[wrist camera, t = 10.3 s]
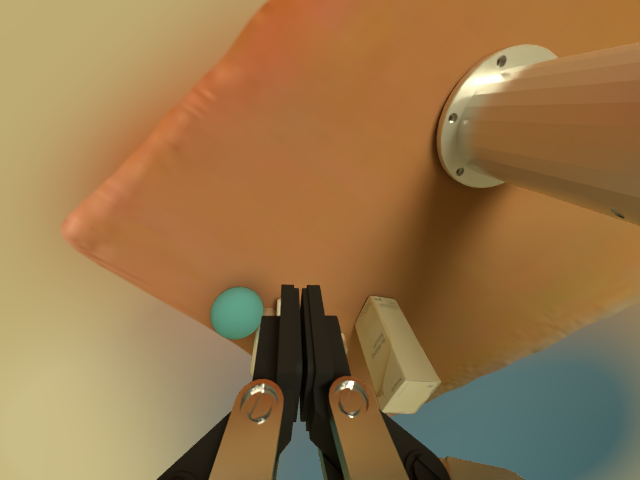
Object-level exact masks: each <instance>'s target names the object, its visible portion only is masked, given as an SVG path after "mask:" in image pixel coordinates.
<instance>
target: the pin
mask: <svg viewBox="0 0 640 480" xmlns="http://www.w3.org/2000/svg"><path fill="white" fill-rule="evenodd" d="M263 316H276V311H275V310H274V309H273V308H270V307H265V308H264V313H263ZM259 330H260V325H259V327H258V328H257V329H256V335H255V341H254V348H253V354H252V361H251V368H250V375H251V376H252V377H253V373H254V366H255V359H256V352H257V345H258V338H259Z"/></svg>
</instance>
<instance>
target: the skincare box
mask: <svg viewBox="0 0 640 480" xmlns="http://www.w3.org/2000/svg"><path fill="white" fill-rule="evenodd" d="M355 328H356V331H357V334H358V338H359V341H360V344H361V347H362V351H363V354H364V357H365V360H366V364H367V367H368V370H369V373H370V377H371V380H372V383H373V386H374V389H375V393H376V396H377V399H378V402H379V406H380V409H381V411H382V412H383V413H400V414H415V413H416V411H417V410H418V409H419V408H420V407H421V406H422V404H423V403H424V402H425V401H426V400H427V399H428V398H429V396H430V395H431V394H432V393H433V391H434V390H435V389H436V388H437V387H438V385H439V384H440V383H441V381H440V379H439V378H438V376H437V374H436V372H435V370H434V369H433V367H432V365H431V363H430V361H429V360H428V358H427V356H426V354H425V352H424V350H423V349H422V347H421V345H420V343H419V342H418V340H417V338H416V336H415V334H414V332H413V331H412V329H411V327H410V325H409V323H408V322H407V320H406V318H405V316H404V314H403V313H402V311H401V309H400V307H399V305H398V304H397V302H396V300H395V299H390V298H384V297H377V296H369V297H368V299H367V301H366V303H365V305H364V307H363V309H362V311H361V313H360V314H359V316H358V319H357V321H356V323H355Z"/></svg>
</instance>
